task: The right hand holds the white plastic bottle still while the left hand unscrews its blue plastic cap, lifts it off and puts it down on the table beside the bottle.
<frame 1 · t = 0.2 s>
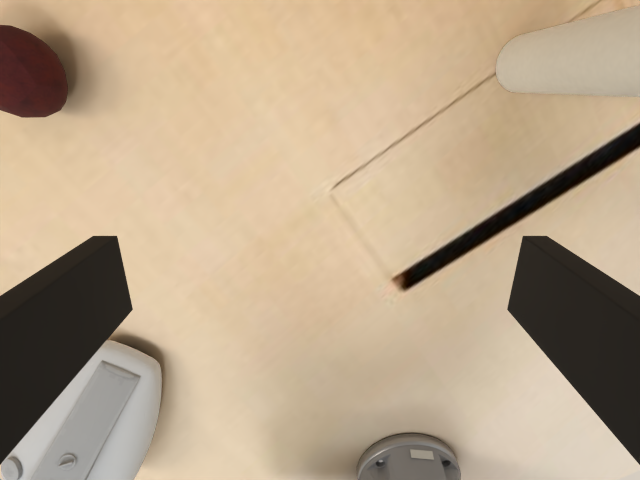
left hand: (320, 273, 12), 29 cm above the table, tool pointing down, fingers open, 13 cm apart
projector: (108, 398, 53), on the table
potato: (46, 75, 37), on the table
bottle: (522, 63, 37), on the table
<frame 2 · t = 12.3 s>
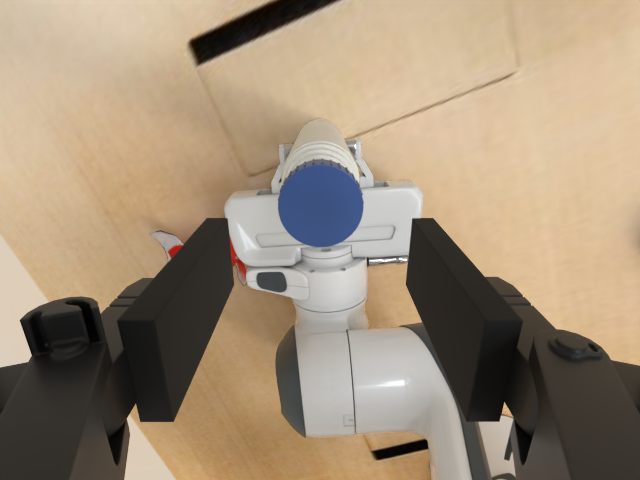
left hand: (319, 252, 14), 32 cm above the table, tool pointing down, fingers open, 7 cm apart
right hand: (319, 141, 37), fingers closed on bottle, 5 cm apart
cap: (320, 206, 20), point 25 cm above the table, screwed on, not yet turned
bottle: (320, 142, 43), on the table, touching right hand
fish: (205, 254, 49), on the table
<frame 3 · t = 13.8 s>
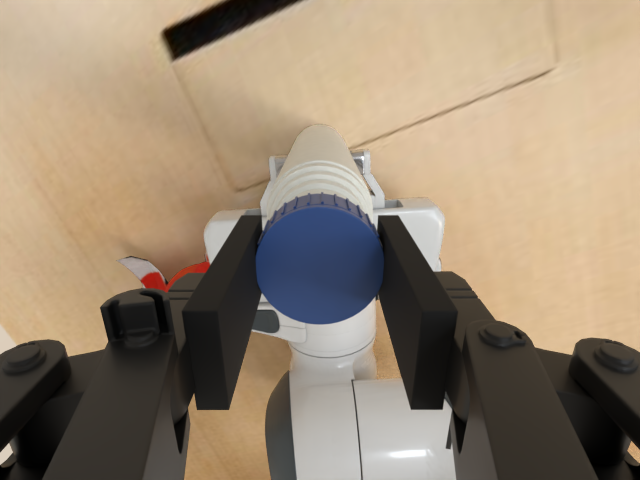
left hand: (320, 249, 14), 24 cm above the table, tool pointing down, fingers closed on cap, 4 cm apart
cap: (319, 265, 13), point 25 cm above the table, screwed on, not yet turned, touching left hand
bottle: (319, 152, 37), on the table, touching right hand
fish: (187, 281, 42), on the table
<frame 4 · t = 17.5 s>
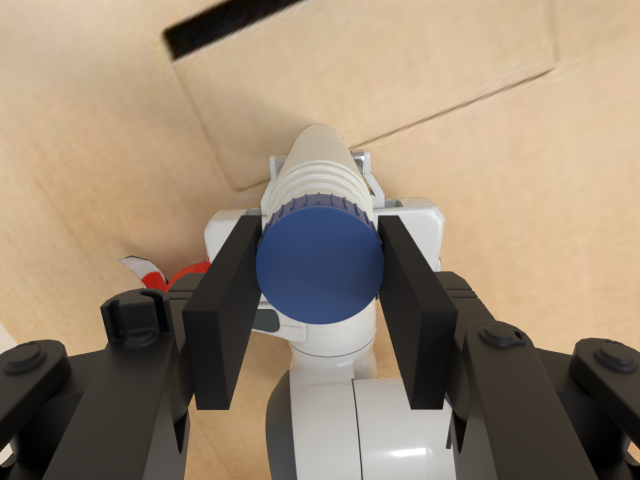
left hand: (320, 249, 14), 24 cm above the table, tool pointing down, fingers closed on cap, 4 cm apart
cap: (319, 266, 13), point 26 cm above the table, turned 111° so far, risen 0.1 cm, still on its thread, touching left hand
bottle: (319, 152, 37), on the table, touching right hand
fish: (187, 280, 42), on the table
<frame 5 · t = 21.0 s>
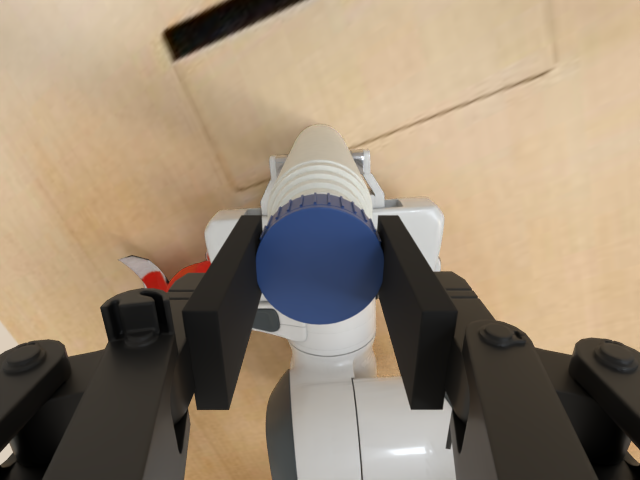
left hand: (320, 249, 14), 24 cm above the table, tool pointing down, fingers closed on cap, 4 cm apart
cap: (319, 266, 13), point 26 cm above the table, turned 222° so far, risen 0.2 cm, still on its thread, touching left hand
bottle: (319, 152, 37), on the table, touching right hand
fish: (187, 280, 42), on the table
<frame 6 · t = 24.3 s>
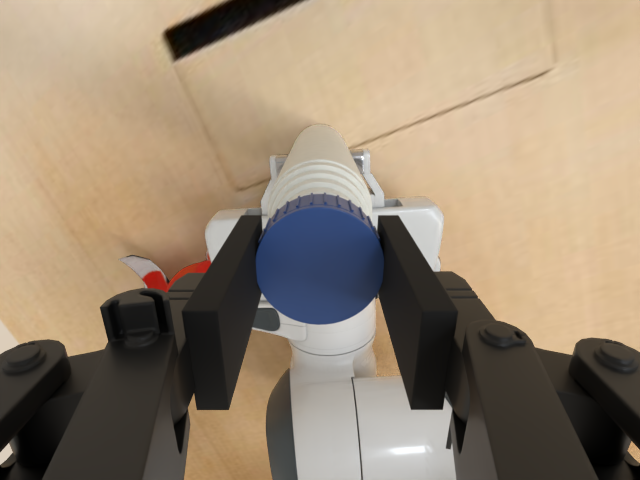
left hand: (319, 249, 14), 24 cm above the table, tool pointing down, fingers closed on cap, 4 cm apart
cap: (319, 266, 13), point 26 cm above the table, turned 333° so far, risen 0.3 cm, still on its thread, touching left hand
bottle: (320, 151, 37), on the table, touching right hand
fish: (188, 279, 42), on the table
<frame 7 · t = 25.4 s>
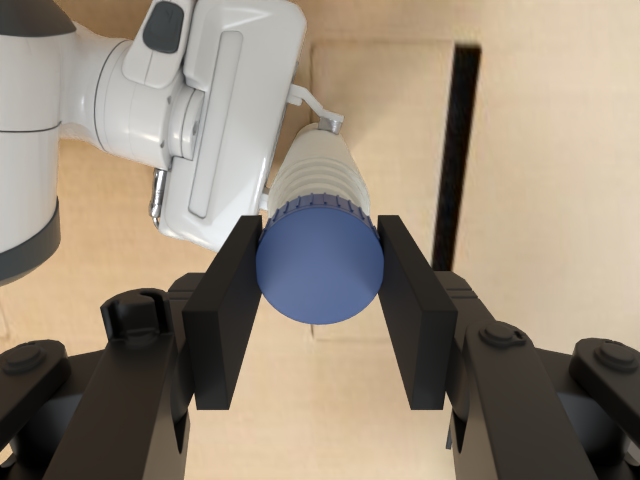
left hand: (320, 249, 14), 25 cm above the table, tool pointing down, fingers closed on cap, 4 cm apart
right hand: (329, 163, 31), fingers closed on bottle, 5 cm apart
cap: (319, 266, 13), point 26 cm above the table, off its thread, touching left hand
bottle: (318, 149, 37), on the table, touching right hand
when the left hand's fingers open (1 cm above the table, at t = 32.1 s): cap drops 1 cm, point 1 cm above the table.
when the right hand's fingers open (6 cm above the table, at t = 33.4 s): bottle stays where it is, on the table.
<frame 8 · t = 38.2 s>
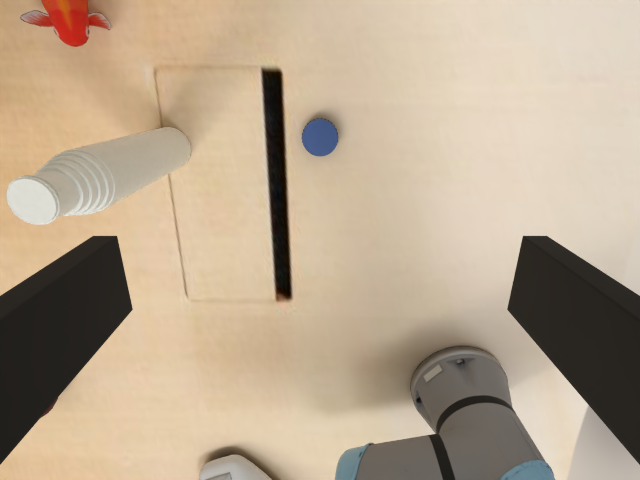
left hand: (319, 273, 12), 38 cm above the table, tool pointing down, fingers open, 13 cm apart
cap: (320, 137, 47), point 1 cm above the table, off its thread
bottle: (170, 147, 49), on the table
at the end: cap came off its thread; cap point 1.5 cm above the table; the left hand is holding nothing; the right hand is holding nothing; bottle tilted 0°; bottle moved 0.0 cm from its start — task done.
